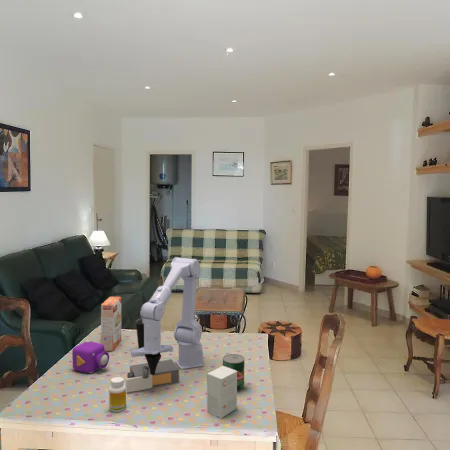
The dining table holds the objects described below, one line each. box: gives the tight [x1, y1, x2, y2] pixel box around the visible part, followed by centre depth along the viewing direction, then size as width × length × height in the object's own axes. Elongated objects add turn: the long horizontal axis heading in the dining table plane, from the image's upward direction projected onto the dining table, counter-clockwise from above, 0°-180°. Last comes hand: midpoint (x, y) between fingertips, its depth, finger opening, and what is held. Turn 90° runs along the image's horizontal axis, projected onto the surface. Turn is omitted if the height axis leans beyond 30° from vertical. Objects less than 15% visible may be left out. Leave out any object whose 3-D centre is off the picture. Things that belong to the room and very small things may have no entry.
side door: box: [125, 366, 153, 394], centre depth 153 cm, size 9×2×8 cm, turn 113°
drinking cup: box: [134, 317, 144, 349], centre depth 189 cm, size 8×8×20 cm
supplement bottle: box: [108, 376, 127, 413], centre depth 142 cm, size 5×5×10 cm
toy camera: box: [71, 339, 110, 374], centre depth 171 cm, size 11×14×10 cm
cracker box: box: [100, 296, 122, 352], centre depth 195 cm, size 14×6×21 cm, turn 179°
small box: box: [206, 365, 238, 419], centre depth 141 cm, size 8×6×13 cm
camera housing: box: [126, 359, 180, 388], centre depth 162 cm, size 18×10×5 cm, turn 113°
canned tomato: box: [222, 353, 246, 393], centre depth 157 cm, size 8×8×11 cm
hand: (152, 373), depth 155 cm, fingers closed
